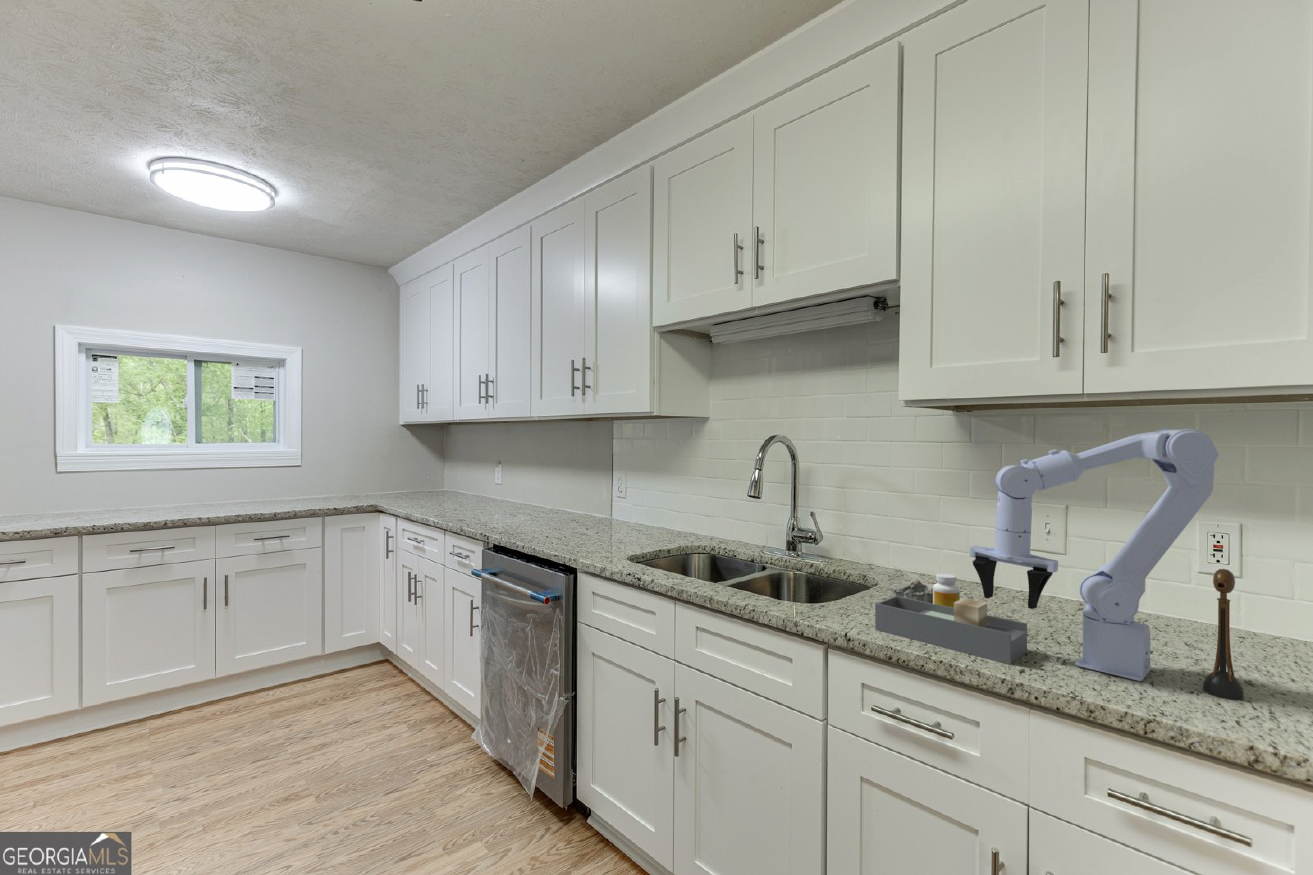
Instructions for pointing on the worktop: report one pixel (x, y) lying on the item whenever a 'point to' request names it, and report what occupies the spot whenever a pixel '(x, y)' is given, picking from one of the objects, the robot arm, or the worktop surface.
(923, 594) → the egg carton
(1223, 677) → the wooden tabletop sculpture
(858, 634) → the worktop surface
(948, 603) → the supplement bottle
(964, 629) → the grey drawer organizer tray
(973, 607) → the maple block
